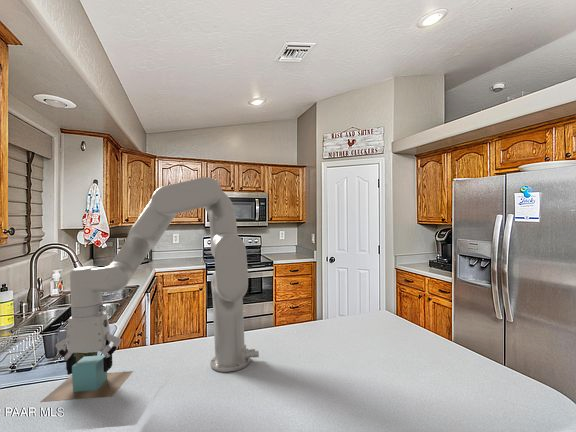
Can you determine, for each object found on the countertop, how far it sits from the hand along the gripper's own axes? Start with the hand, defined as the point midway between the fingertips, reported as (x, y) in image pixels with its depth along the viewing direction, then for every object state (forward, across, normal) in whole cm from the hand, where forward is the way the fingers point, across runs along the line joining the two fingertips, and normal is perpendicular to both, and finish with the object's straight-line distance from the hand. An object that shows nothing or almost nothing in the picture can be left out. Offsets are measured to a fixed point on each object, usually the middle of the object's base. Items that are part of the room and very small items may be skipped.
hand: (89, 371), depth 92 cm
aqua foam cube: (+4, 0, 0) cm, 4 cm away
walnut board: (+6, 0, 0) cm, 6 cm away
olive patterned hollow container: (+6, +9, -15) cm, 18 cm away
